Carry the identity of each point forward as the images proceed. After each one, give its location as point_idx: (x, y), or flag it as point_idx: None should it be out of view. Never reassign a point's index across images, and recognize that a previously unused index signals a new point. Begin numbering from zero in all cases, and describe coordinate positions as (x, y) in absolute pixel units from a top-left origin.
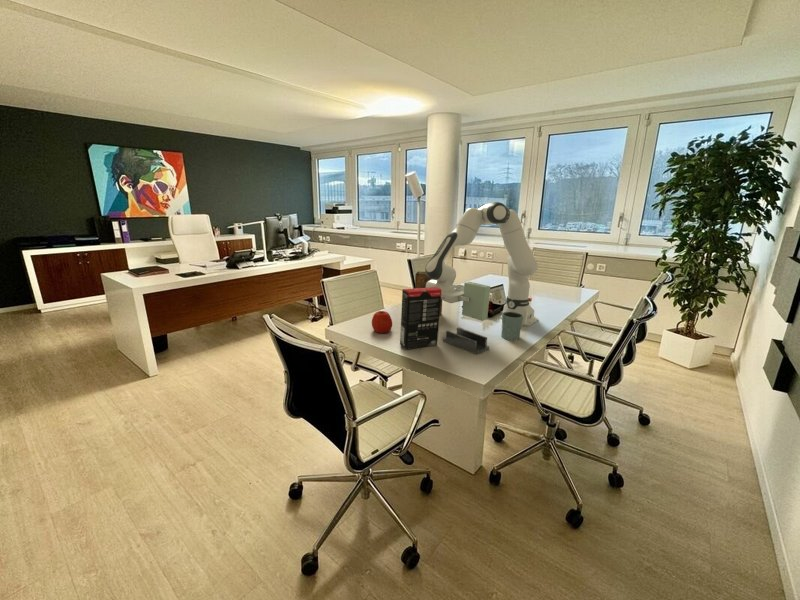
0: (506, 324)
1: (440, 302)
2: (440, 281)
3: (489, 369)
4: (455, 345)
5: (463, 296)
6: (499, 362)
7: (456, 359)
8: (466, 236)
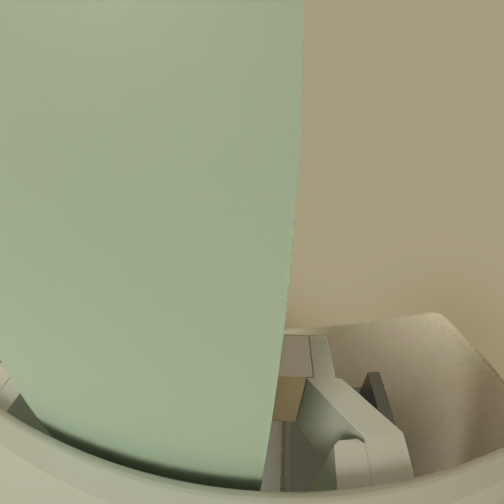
0: None
1: None
2: None
3: (391, 331)
4: None
5: (259, 488)
6: (337, 337)
7: (445, 401)
8: None
